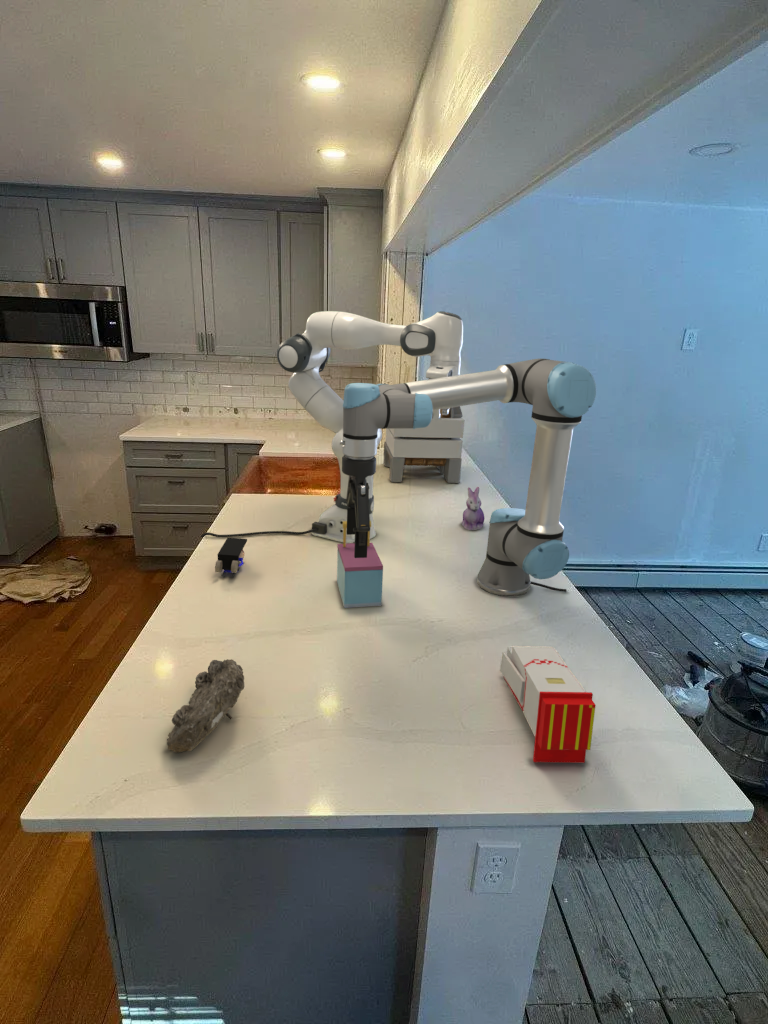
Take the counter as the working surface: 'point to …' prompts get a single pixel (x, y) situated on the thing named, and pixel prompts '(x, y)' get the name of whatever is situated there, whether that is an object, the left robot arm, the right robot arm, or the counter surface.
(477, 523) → the figurine
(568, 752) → the toy
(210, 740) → the counter surface
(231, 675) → the fossil
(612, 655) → the counter surface
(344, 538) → the lid
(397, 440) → the transformer
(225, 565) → the figurine character
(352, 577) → the chest
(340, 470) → the left robot arm
